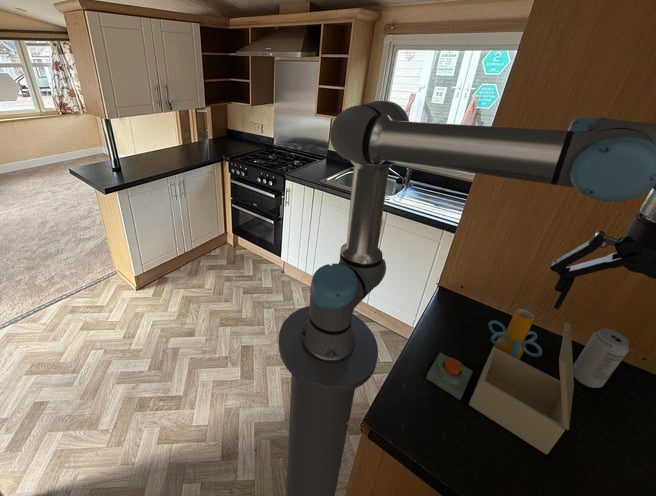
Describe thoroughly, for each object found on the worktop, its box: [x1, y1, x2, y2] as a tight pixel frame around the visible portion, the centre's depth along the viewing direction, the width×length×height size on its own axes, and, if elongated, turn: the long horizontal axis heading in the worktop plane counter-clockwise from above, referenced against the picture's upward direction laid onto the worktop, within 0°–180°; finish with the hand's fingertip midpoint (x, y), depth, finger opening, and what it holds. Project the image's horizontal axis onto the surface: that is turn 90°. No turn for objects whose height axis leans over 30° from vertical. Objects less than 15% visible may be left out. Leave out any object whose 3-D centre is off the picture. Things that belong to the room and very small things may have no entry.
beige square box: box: [468, 346, 566, 456], centre depth 71 cm, size 15×13×9 cm
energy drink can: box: [573, 328, 630, 389], centre depth 76 cm, size 6×6×15 cm
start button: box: [444, 357, 462, 375], centre depth 78 cm, size 4×4×2 cm
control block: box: [425, 352, 473, 401], centre depth 79 cm, size 8×9×4 cm
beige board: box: [558, 322, 575, 431], centre depth 62 cm, size 15×13×1 cm
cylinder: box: [487, 307, 543, 361], centre depth 82 cm, size 12×10×15 cm
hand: (605, 325), depth 56 cm, fingers open, 13 cm apart
